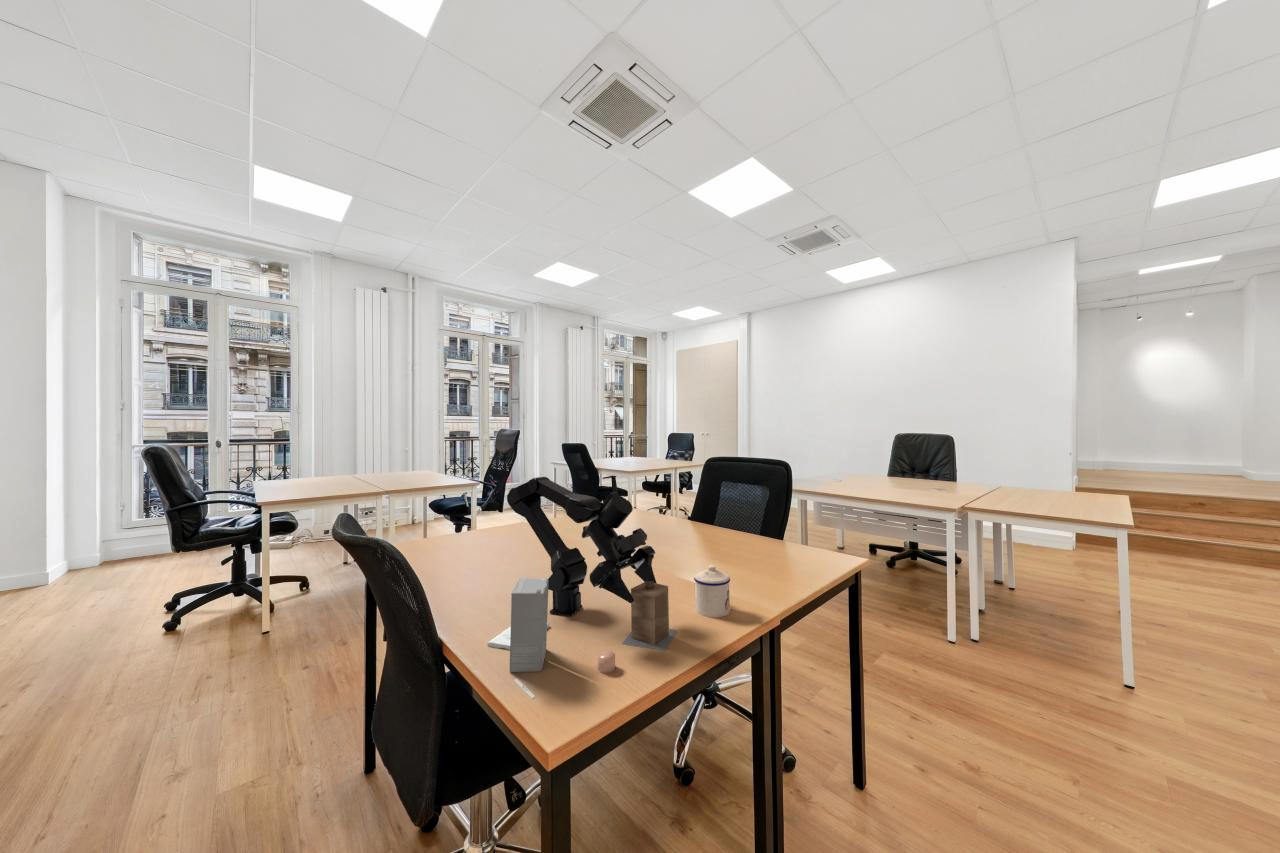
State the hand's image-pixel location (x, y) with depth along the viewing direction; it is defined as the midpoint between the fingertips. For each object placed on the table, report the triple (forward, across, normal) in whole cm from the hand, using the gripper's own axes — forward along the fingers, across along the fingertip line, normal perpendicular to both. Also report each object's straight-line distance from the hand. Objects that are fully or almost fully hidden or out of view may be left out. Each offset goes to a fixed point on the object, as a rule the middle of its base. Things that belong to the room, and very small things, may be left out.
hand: (644, 595), depth 98 cm
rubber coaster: (+8, 0, +6) cm, 9 cm away
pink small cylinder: (+8, -16, +5) cm, 18 cm away
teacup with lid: (+10, +22, +3) cm, 25 cm away
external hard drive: (-10, -16, +24) cm, 31 cm away
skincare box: (-2, -22, +16) cm, 27 cm away
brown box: (+7, 0, +5) cm, 9 cm away
